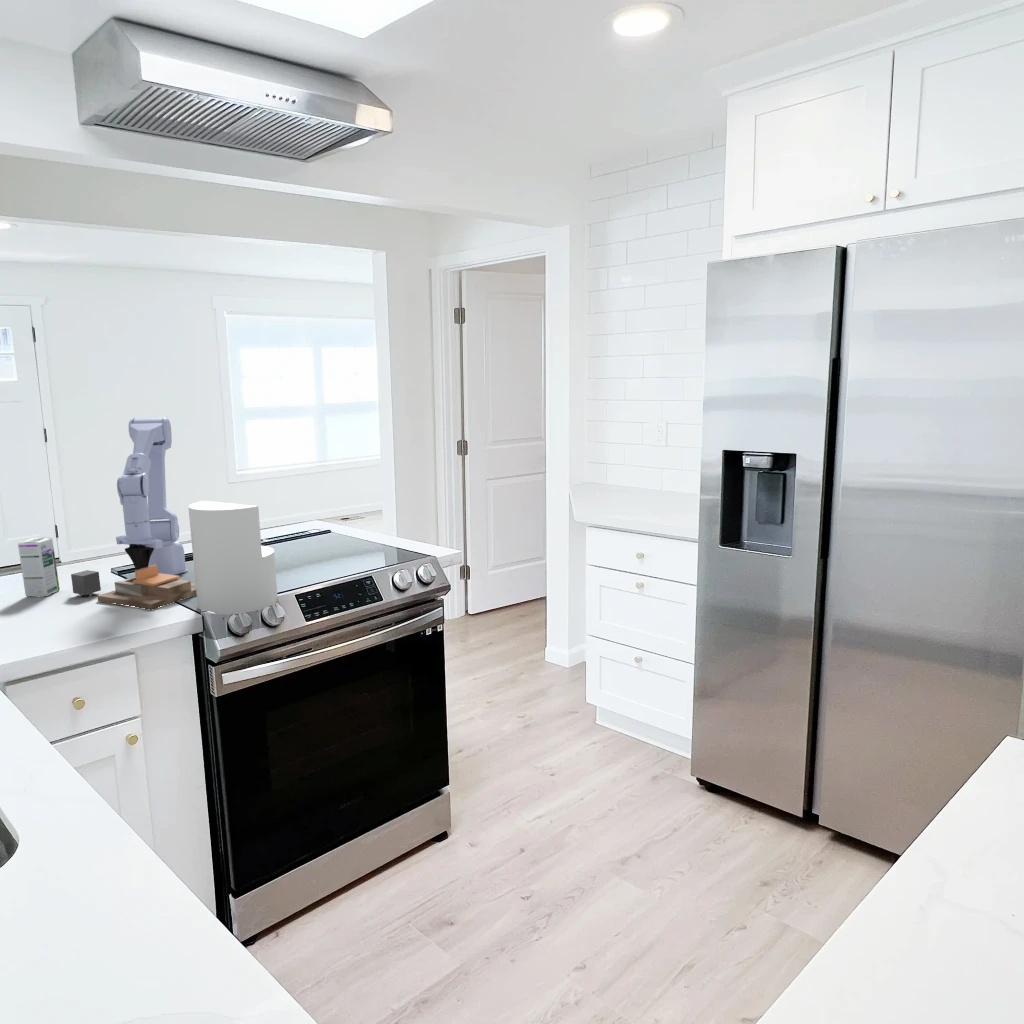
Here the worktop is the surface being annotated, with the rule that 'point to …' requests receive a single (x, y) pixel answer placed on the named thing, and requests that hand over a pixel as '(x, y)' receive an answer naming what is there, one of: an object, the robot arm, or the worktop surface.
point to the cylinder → (231, 558)
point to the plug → (85, 582)
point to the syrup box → (38, 567)
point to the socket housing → (148, 593)
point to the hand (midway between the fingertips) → (142, 573)
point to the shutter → (152, 576)
